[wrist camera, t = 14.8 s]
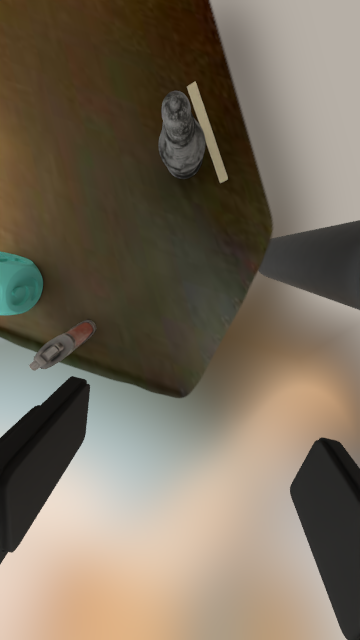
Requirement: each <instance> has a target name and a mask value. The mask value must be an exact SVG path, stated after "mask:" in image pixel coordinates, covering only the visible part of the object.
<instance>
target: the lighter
mask: <svg viewBox="0 0 360 640" xmlns="http://www.w3.org/2000/svg"><path fill="white" fill-rule="evenodd" d="M95 331H96V325H95V323H94V322H93V321H91V320H85V321H83V322H81V323H79V324H78V325H76V326H74V327H73V328H72V329H70V330H69V331H68V332H66V333H63V334H61V335H59V336H57V337H55V338H54V339H52V340H50V341H49V342H48V343H46V344H45V345H44V346H43V347H42V348H41V349H40V350H39V351H38V352H37V354H36V355H35V357H34V361H33V362H32V363H31V364H30V365H29V366H30V368H31V369H32V370H37V369H38V368H41V369H47V368H49V367H51V366H53V365H55V364H56V363H58V362H60V361H61V360H62V359H64V358H65V357H66V356H67V355H69V354H70V353H71V352H73V351H74V350H75V349H76V348H77V347H78V346H80V345H81V344H83V343H84V342H86V341H87V340H88V339H89V338H90V337H91V336H92V335H93V333H94V332H95Z"/></svg>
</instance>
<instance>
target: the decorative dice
mask: <svg viewBox="0 0 360 640" xmlns="http://www.w3.org/2000/svg"><path fill="white" fill-rule="evenodd" d="M42 289H43V279H42V276H41V273H40V271H39V269H38V268H37V266H36V265H35V264H34V263H33V262H32V261H31V260H29V259H27V258H24V257H21V256H18V255H14V254H10V253H5V252H0V315H15V314H21V313H24V312H26V311H28V310H30V309H31V308H32V307H33V306H34V305H35V304H36V303H37V301H38V300H39V298H40V296H41V293H42Z"/></svg>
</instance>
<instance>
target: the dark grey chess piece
mask: <svg viewBox="0 0 360 640" xmlns="http://www.w3.org/2000/svg"><path fill="white" fill-rule="evenodd" d="M162 118H163V127H162V128H163V129H162V131H161V134H160V137H159V153H160V156H161V159H162V161H163V162H164V164H165V165H166V166H167V168H168V170H169V171H170V173H171V174H172V175H173V176H175V177H177V178H180V179H187V178H190V177H192V176H193V175H194V174H196V173H197V171H198V170H199V169H200V166H201V164H202V159H203V155H204V151H205V135H204V132H203V129H202V128H201V126H200V124H199V123H198V122H197V121H196V120H195V119H194V117H193V115H192V113H191V106H190V103H189V100H188V98H187V97H186V96H185V94H184V93H182V92H180V91H172V92H170V93H169V94H168V95H167V96H166V97H165V99H164V100H163V104H162Z"/></svg>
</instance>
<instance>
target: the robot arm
mask: <svg viewBox="0 0 360 640" xmlns="http://www.w3.org/2000/svg"><path fill="white" fill-rule="evenodd" d="M89 392H90V385H89V384H87V381H86V380H85V379H81V378H77V377H73V376H72V377H70V378H69V379H68V380H67V381H66V382H65V383H64V384H62V385H61V386H60V387H59V388H58V389H57V390H56V391H55V392H54V393H53V394H52V395H51V396H50V397H49V398H48V399H47V400H46V401H45V402H44V403H42V405H38V406H35V407H34V408H32V409H31V410H30V411H29V412H28V413H27V414H25V415H24V416H23V417H22V418H21V419H20V420H19V421H18V422H17V423H16V424H15V425H14V426H13V427H12V428H10V429H9V430H8V431H7V432H6V433H5V434H4V435H3V436H2V437H1V438H0V564H1V562H2V561H3V559H4V558H5V556H6V554H7V553H8V552H13V551H15V549H16V548H17V547H18V545H19V544H20V542H21V541H22V539H23V537H24V536H25V534H26V533H27V531H28V529H29V528H30V526H31V525H32V523H33V521H34V520H35V518H36V517H37V515H38V513H39V512H40V510H41V509H42V507H43V505H44V504H45V502H46V501H47V499H48V497H49V496H50V494H51V493H52V491H53V489H54V488H55V486H56V484H57V483H58V481H59V479H60V478H61V476H62V475H63V473H64V472H65V470H66V468H67V467H68V465H69V464H70V462H71V460H72V459H73V457H74V455H75V454H76V452H77V450H78V449H79V447H80V446H81V444H82V442H83V440H84V437H85V433H86V423H87V413H88V402H89ZM290 493H291V497H292V500H293V503H294V505H295V508H296V510H297V513H298V516H299V519H300V521H301V524H302V527H303V529H304V532H305V535H306V537H307V540H308V543H309V545H310V548H311V551H312V553H313V556H314V559H315V561H316V564H317V567H318V569H319V572H320V575H321V577H322V580H323V582H324V585H325V588H326V591H327V594H328V596H329V599H330V601H331V604H332V607H333V610H334V612H335V615H336V618H337V620H338V623H339V626H340V628H341V630H342V633H343V634H344V636H345V637H346V639H347V640H360V468H359V467H358V466H357V464H356V463H355V462H354V460H353V459H352V458H351V456H350V455H349V454H348V452H347V451H346V450H345V448H344V447H343V445H342V444H341V443H340V442H338V441H335V440H331V439H327V438H320V439H319V440H317V441H315V442H314V444H313V446H312V448H311V450H310V451H309V453H308V455H307V457H306V459H305V460H304V462H303V464H302V466H301V468H300V469H299V471H298V473H297V475H296V477H295V479H294V480H293V482H292V484H291V487H290Z"/></svg>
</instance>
